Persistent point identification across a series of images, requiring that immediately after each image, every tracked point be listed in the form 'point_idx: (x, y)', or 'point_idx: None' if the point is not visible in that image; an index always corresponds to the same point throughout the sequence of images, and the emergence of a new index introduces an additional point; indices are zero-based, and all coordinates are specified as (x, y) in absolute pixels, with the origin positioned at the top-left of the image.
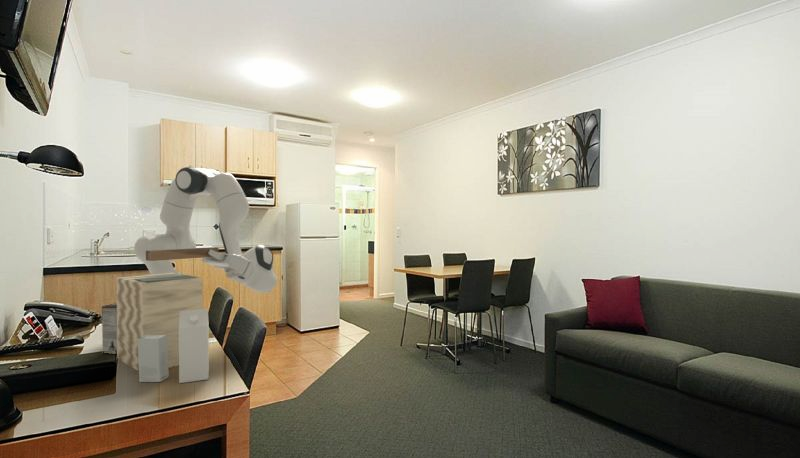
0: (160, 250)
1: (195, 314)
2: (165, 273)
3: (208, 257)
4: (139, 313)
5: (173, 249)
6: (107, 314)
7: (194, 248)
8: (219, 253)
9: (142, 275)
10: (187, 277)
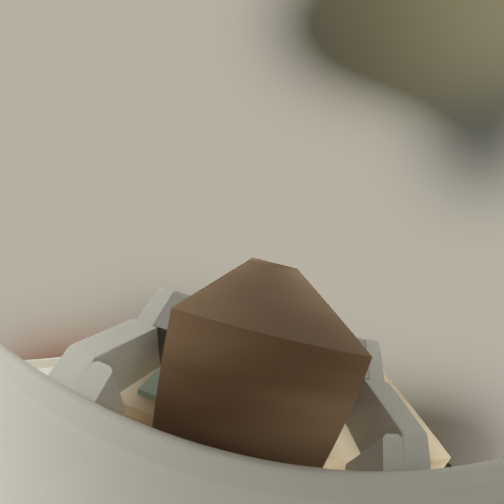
0: (251, 259)
1: (38, 367)
2: (435, 440)
3: (350, 462)
4: None
5: (277, 271)
6: None
7: (275, 284)
8: (92, 343)
9: (404, 399)
10: (155, 373)
